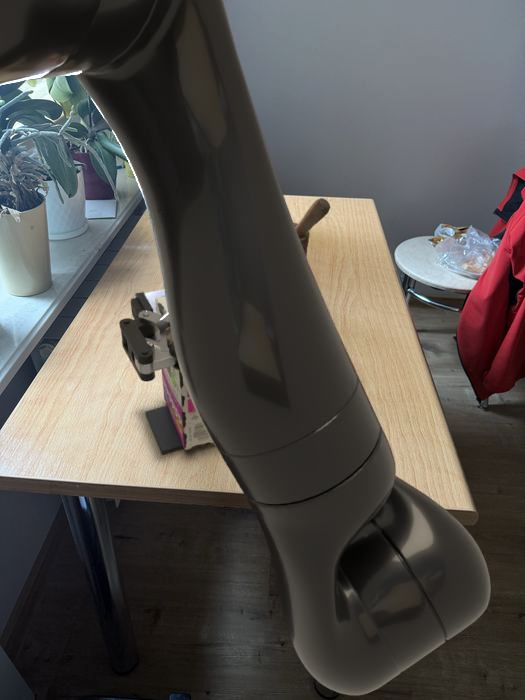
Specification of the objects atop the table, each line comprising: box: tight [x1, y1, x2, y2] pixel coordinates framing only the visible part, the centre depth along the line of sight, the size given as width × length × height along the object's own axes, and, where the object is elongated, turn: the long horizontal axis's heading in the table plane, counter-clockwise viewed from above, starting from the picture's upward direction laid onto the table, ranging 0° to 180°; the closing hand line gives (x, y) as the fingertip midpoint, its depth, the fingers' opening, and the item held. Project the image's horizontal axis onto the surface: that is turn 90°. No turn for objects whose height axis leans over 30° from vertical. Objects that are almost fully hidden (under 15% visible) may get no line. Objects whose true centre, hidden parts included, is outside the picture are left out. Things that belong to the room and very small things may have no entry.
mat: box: [144, 405, 184, 455], centre depth 71 cm, size 10×8×1 cm
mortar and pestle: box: [293, 197, 331, 257], centre depth 94 cm, size 12×9×20 cm
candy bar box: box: [155, 296, 214, 451], centre depth 66 cm, size 11×5×16 cm, turn 23°
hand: (183, 292), depth 51 cm, fingers open, 8 cm apart
